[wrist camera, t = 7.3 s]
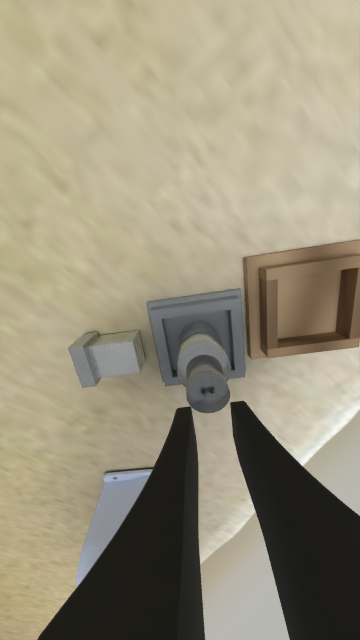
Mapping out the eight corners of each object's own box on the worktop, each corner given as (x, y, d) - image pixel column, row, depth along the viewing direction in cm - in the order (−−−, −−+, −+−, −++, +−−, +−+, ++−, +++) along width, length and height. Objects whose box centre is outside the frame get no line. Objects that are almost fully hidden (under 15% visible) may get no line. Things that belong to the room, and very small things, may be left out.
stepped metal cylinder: (182, 359, 19) (180, 424, 12) (176, 323, 18) (170, 371, 11) (220, 355, 19) (242, 417, 12) (216, 318, 18) (239, 363, 11)
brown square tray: (248, 355, 19) (257, 368, 17) (243, 257, 17) (253, 258, 14) (346, 343, 19) (369, 355, 17) (359, 239, 16) (388, 237, 14)
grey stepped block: (96, 368, 20) (82, 387, 17) (85, 333, 19) (68, 347, 16) (146, 362, 20) (139, 380, 17) (137, 326, 19) (129, 339, 16)
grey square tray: (163, 378, 20) (161, 390, 19) (147, 301, 18) (143, 307, 16) (243, 369, 20) (249, 380, 18) (239, 288, 17) (245, 292, 16)
